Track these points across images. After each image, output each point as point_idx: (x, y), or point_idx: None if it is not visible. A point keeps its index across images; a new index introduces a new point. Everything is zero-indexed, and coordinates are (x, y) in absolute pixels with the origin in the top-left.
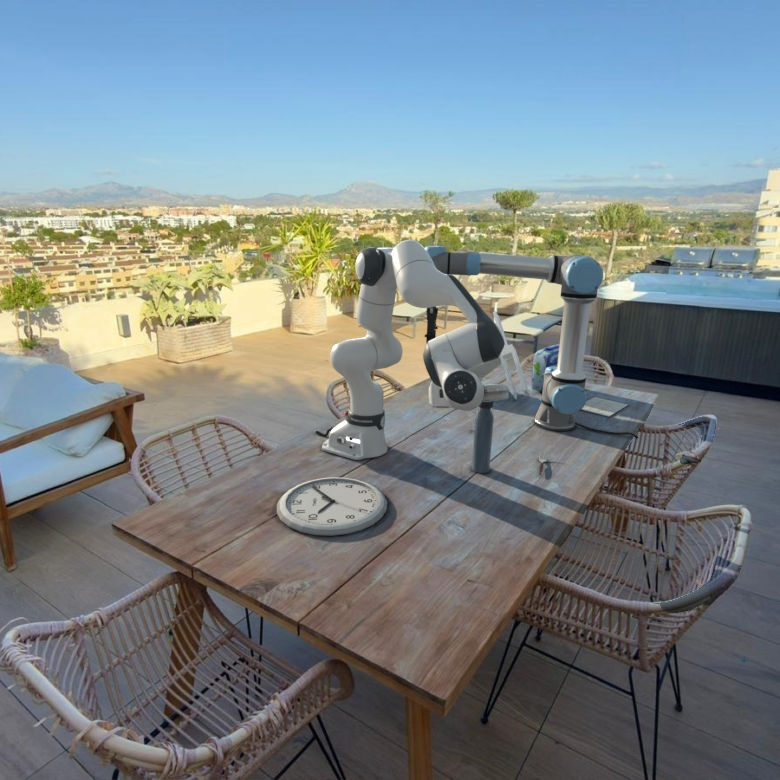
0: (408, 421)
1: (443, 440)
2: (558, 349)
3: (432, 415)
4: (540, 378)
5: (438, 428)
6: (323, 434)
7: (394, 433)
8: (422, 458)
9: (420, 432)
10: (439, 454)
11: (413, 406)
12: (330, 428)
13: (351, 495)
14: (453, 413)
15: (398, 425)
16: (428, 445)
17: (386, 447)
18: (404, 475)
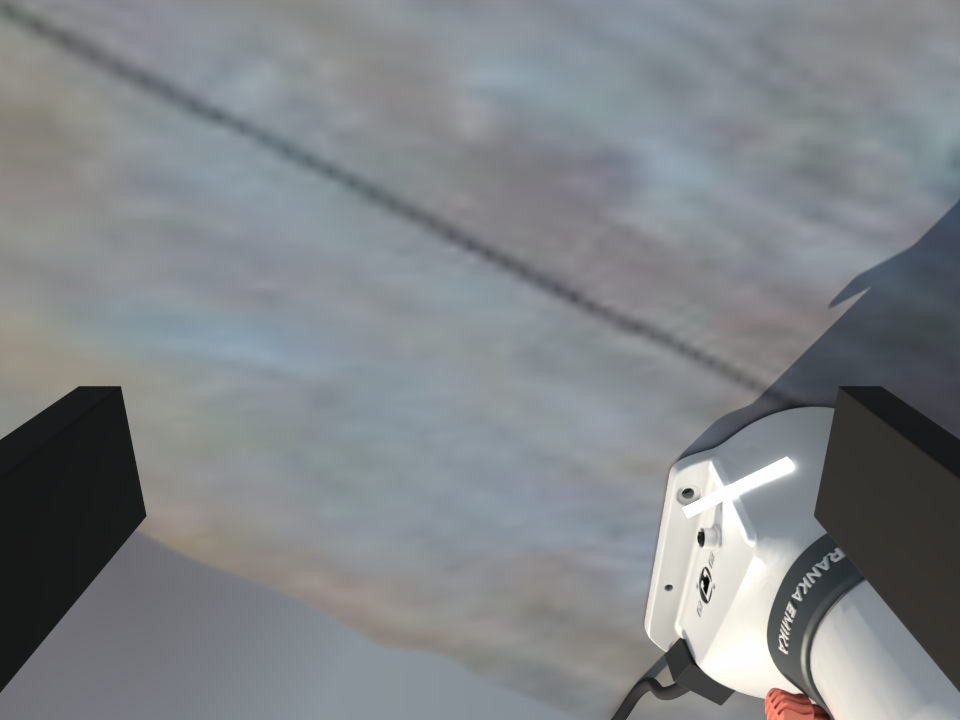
0: (370, 338)
1: (652, 106)
2: None
3: (221, 195)
4: None
5: (454, 145)
6: (643, 693)
7: (572, 396)
8: (913, 221)
9: (538, 255)
10: (863, 126)
11: (86, 330)
12: (677, 696)
13: None
14: (132, 40)
15: (447, 387)
16: (734, 197)
17: (826, 418)
18: None
